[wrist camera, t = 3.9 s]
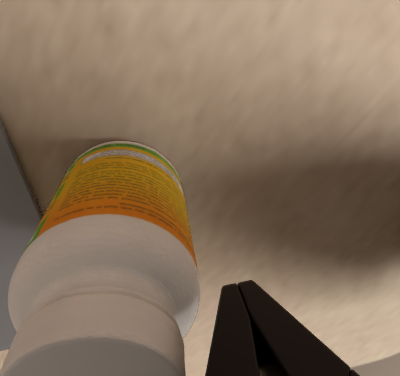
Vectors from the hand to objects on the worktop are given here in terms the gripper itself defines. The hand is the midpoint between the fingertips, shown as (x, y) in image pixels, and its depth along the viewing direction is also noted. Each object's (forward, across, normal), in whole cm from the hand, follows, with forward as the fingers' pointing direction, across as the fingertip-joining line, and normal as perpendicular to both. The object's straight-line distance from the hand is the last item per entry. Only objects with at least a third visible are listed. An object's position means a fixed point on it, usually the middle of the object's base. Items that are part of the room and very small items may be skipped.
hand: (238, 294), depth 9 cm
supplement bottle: (+8, +4, 0) cm, 9 cm away
